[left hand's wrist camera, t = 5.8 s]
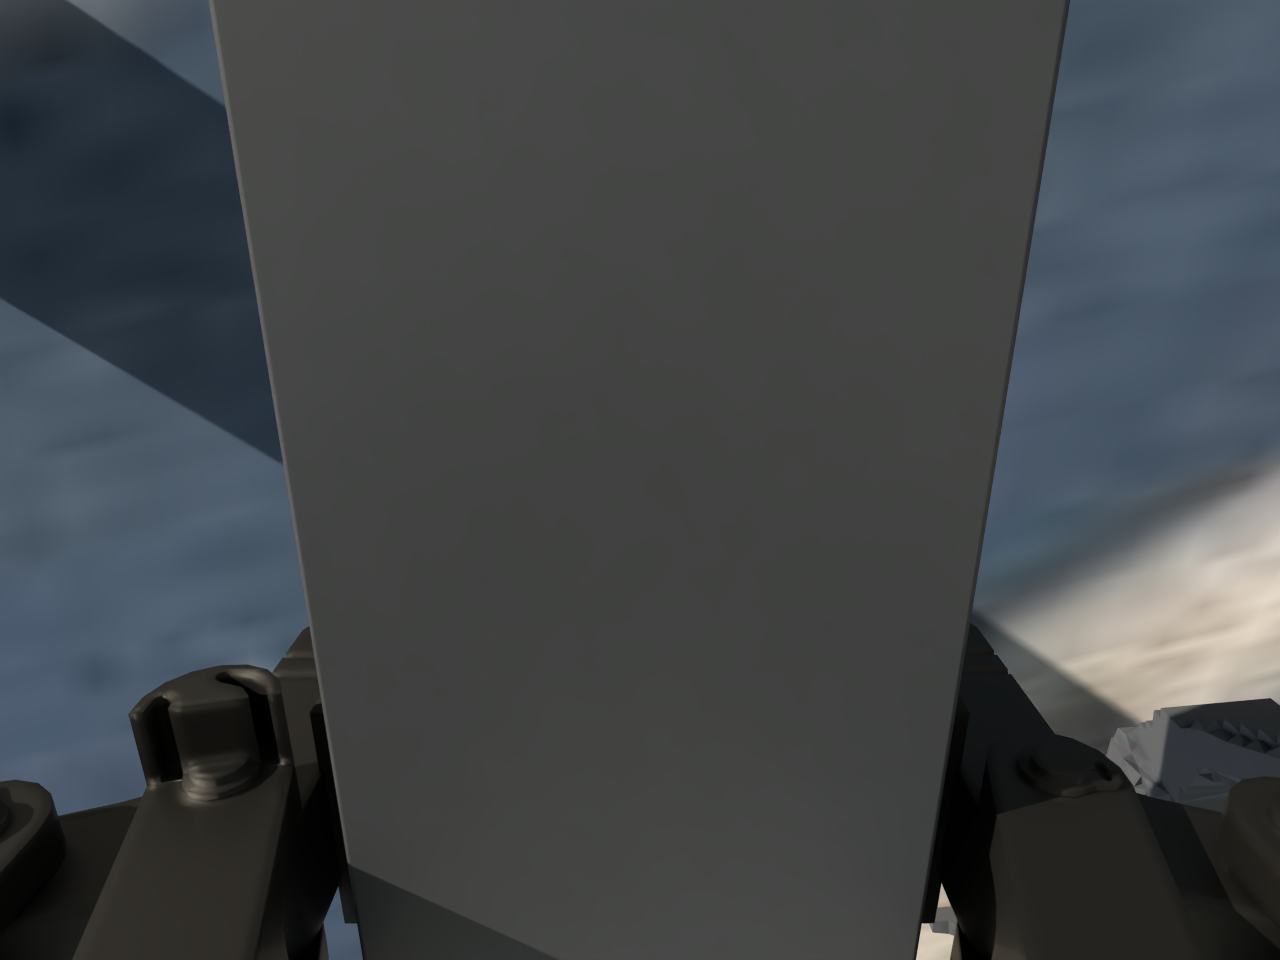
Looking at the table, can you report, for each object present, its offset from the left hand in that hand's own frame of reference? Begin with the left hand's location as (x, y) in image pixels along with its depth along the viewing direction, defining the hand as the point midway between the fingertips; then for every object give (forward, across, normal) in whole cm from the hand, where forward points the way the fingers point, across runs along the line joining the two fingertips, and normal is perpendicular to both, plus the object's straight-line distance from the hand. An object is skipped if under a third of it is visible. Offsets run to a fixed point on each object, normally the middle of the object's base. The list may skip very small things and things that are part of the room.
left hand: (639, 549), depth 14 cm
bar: (+1, 0, -8) cm, 8 cm away
